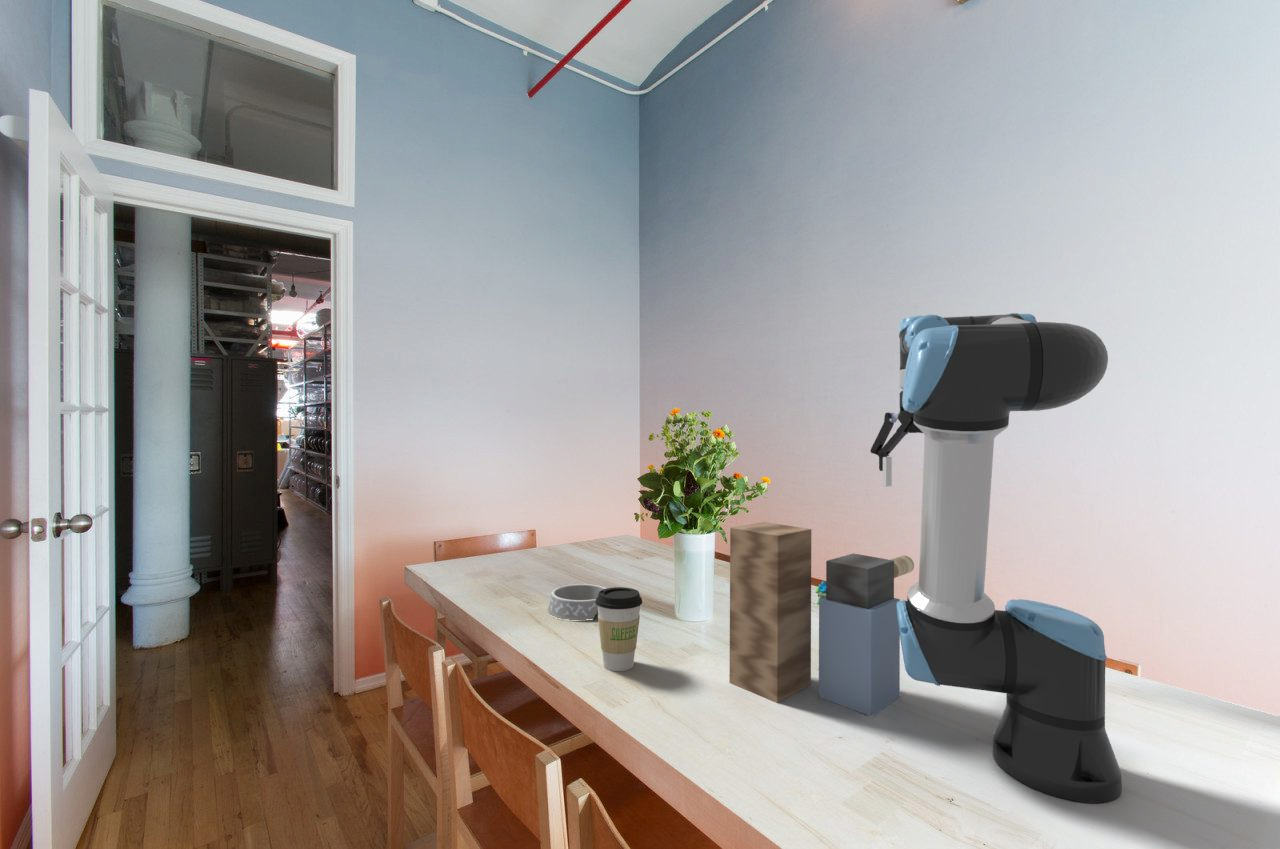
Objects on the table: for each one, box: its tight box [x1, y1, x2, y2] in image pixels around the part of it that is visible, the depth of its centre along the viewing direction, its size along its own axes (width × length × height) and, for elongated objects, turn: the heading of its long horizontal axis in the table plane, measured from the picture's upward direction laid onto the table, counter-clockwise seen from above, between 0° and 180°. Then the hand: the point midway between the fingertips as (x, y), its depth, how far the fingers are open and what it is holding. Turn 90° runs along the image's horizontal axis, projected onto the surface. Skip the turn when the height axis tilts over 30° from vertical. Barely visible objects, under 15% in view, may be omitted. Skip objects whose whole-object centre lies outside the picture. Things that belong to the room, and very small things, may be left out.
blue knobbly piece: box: [815, 580, 826, 605], centre depth 161 cm, size 11×6×10 cm
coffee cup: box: [595, 586, 643, 672], centre depth 120 cm, size 10×10×15 cm
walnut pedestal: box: [728, 521, 812, 704], centre depth 112 cm, size 11×11×30 cm
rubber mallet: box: [825, 553, 915, 609], centre depth 111 cm, size 8×24×7 cm, turn 132°
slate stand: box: [818, 596, 901, 717], centre depth 106 cm, size 10×11×18 cm
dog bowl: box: [546, 583, 608, 620], centre depth 156 cm, size 17×18×5 cm
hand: (918, 488), depth 124 cm, fingers open, 13 cm apart
